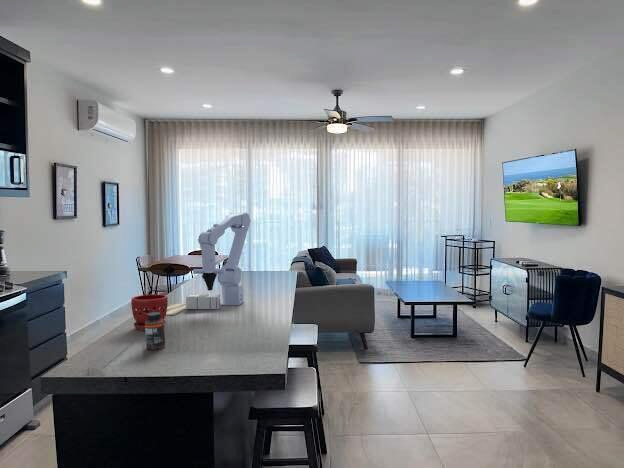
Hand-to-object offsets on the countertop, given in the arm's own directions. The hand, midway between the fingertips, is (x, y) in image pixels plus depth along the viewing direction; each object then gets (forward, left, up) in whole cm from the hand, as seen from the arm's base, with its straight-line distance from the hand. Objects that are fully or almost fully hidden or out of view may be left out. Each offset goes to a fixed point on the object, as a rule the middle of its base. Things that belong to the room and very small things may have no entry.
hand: (210, 290), depth 200 cm
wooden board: (+18, 0, -9) cm, 21 cm away
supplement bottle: (-4, +52, -9) cm, 53 cm away
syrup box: (+12, -2, -6) cm, 14 cm away
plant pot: (+12, +28, -9) cm, 32 cm away
